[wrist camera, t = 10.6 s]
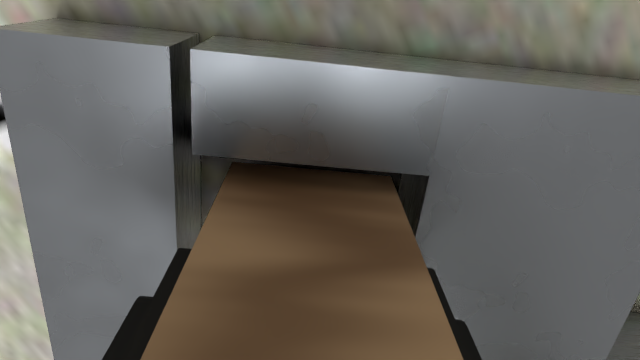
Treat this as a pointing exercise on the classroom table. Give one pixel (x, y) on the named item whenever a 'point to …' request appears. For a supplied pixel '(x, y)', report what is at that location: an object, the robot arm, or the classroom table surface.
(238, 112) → the grey slotted board
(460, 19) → the classroom table surface
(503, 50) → the classroom table surface
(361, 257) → the walnut peg
